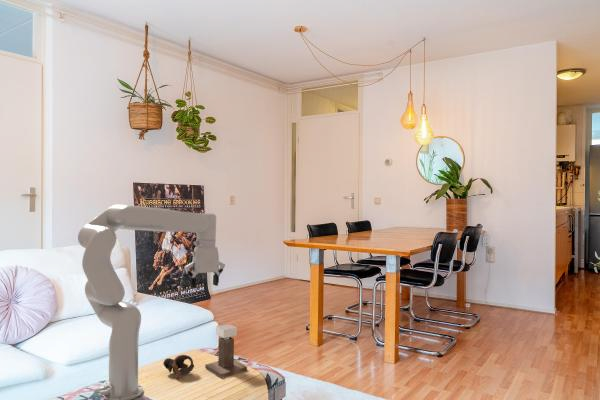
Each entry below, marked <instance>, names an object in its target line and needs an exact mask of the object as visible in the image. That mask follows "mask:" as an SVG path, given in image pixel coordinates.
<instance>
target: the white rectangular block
mask: <svg viewBox="0 0 600 400" xmlns="http://www.w3.org/2000/svg"><path fill="white" fill-rule="evenodd" d="M215 334H216V335H217V336H219V337H222V338H224V340H227V339H229V337H234V336H237V335H238V327H236V326H234V325H232V324H230V323H229V324H224V325H223V324H222V325H219V326H215Z"/></svg>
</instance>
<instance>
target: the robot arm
mask: <svg viewBox="0 0 600 400" xmlns="http://www.w3.org/2000/svg"><path fill="white" fill-rule="evenodd" d="M118 229H120V230H121V229H122V230H128V231H130V230H132V231H147V232H148V231H149V232H160V233H161V232H163V233H166V232H167V233H168V232H173V233H174V232H175V233H176V232H178V233H192V234H193V233H195V234H196V240H195V241H193V243H192V244H193V245H195V247H194V249H193V254H192V261H191V262H190V263H188V264H186V265H185V266H184V267H183V268H184V271H185V273H186V274H187V275H188V277H189V280H190V281H189V283H190V284H189V285H190V287H191V288H192V289H196V288H197V277H196V276H198V274H206V273H213V276H212V277H213V278H212V285H213V286H215V287H216V286H217V287H218V286H219V283H220V282H219V281H220V280H219V279H220V276H221V274H222V272H223V271H224V269H225V266H226V264H225V263H223V262H221V261H220V258H219V249H218V247H217V246H216V238H217V237H216V236H217V216H216V214H214V213H210V212H209V213H208V212H207V213H203V212H202V213H201V212H200V213H199V212H191V211H190V212H188V211H179V210H172V209H167V208H160V207H152V206H151V207H150V206H141V205H127V204H113V205H112V206H110V207H108V208H107V209H105V210H104V211H103V212H101V213H100V214H98V215H97V216H96V217H94V218H92V219H91V220H90V221H89V222H88V223H86V224H85V225H84V226H82V227H81V229H80V230H79V231H78V235H77V241H78V244H79V245H80V246H81V247H83V248H84V249H85V250H84V253H83V256H82V262H81V263H82V264H81V267H82V270H83V272H84V275H85V277H86V280H87V281H86V282H85V286H84V294H85V297H86V299H87V301H88V302H89V304H90V306H91V307H92V309H93V312H94V313H95V314H96V316H97V318H98V320H99V321H100V322H101V323H102V324H104V325H105V326H106V327H110V328H111V333H110V336H109V342H108V381H105V384H104V385H103V386H101V387H96V388H93V395H94V396H96V395H99V396H100V397H101V396H103V399H104V400H133V399H136V398H138V397H140V396H141V395H142V394H143V391H144V390H143V388H144V387H143V386H142V385H141V384H139V338H140V336H139V335H140V330H141V325H142V314H141V313H142V312H141V311H140V309H139V308H138V307H137V306H136V305H134V304H132V303H129V302H127V301H124V298H125V294H126V293H125V287H124V285H123V283H122V281H121V279H120V277H119V276H118V274H117V272H116V271H115V268H114V266H113V264H112V261H111V257H112V251H113V249H114V248H115V246H116V243H117V234H116V231H118ZM190 269H191V270H192V271H191V270H190Z"/></svg>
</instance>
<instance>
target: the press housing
mask: <svg viewBox="0 0 600 400" xmlns="http://www.w3.org/2000/svg"><path fill="white" fill-rule="evenodd" d="M217 359H218V361H215V362H214V361H213V362H210V363H207V364H205V365H204V368H206V370H207V371H208V372H210V373H211V374H213V375H214V376H216V377H218V378H219V379H223V378H226V377H228V376H229V377H230V376H232V375H236V374H239V373H244V372H246V371H248V367H247V366H246V365H245V364H243V363H241V362H240V361H237V360H236V359H235V338H234V337H233V336H231V337H229V339H227V340H224V338H222V337H221V336H219V337H218V358H217Z"/></svg>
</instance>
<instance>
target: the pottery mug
mask: <svg viewBox="0 0 600 400" xmlns="http://www.w3.org/2000/svg"><path fill="white" fill-rule="evenodd" d="M186 360H188V361H189V362H190V365H189V364H186V363H185V361H186ZM162 363H163V366H164V367H165V369H167V370H168V372H169V373H171V372H173V371H174V372H175V373H176V374H175V375H174V378H175V379H177V380H179V379H181V377H185V376H187V375H189V374H190V373H191V372H193V369H194V368H195V364H194V361H193V358H192V357H191V356H189V355H186V354H179V355H177V356H176V357H175V358H174V359H172V358H171V357H169V358H168V357H167V358H166V359H164V361H163V362H162Z"/></svg>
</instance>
